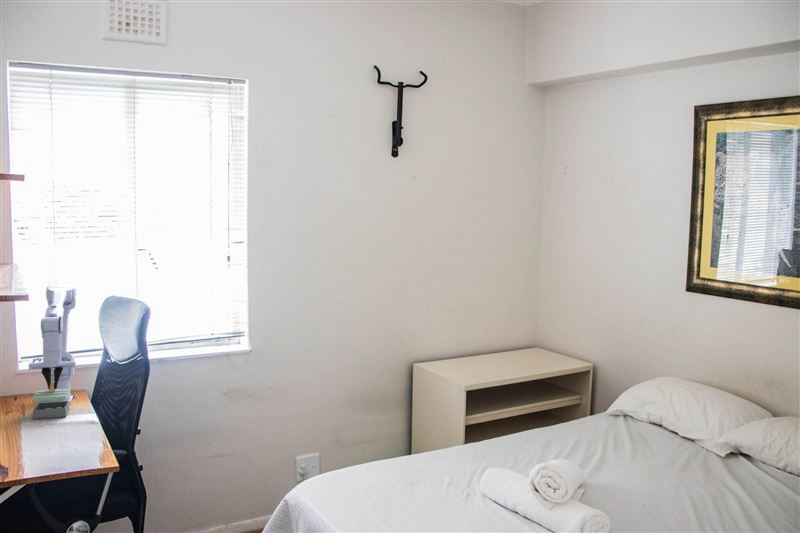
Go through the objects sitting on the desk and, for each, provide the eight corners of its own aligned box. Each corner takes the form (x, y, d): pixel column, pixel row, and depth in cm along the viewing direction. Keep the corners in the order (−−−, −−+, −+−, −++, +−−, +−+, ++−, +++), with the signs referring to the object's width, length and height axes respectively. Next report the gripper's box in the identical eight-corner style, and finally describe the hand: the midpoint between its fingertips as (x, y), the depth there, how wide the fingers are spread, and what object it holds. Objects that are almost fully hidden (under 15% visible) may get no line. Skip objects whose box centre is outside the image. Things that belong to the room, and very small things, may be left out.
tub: (38, 411, 233) (38, 402, 232) (69, 409, 236) (69, 400, 236) (32, 419, 223) (32, 410, 223) (65, 417, 227) (65, 408, 226)
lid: (37, 395, 233) (37, 382, 232) (70, 393, 236) (70, 380, 236) (32, 403, 223) (31, 389, 222) (66, 401, 226) (66, 387, 226)
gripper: (26, 353, 225) (27, 392, 225) (73, 351, 230) (74, 390, 230) (30, 349, 231) (31, 387, 232) (76, 348, 236) (76, 385, 237)
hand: (52, 388), depth 232 cm, fingers closed on lid
